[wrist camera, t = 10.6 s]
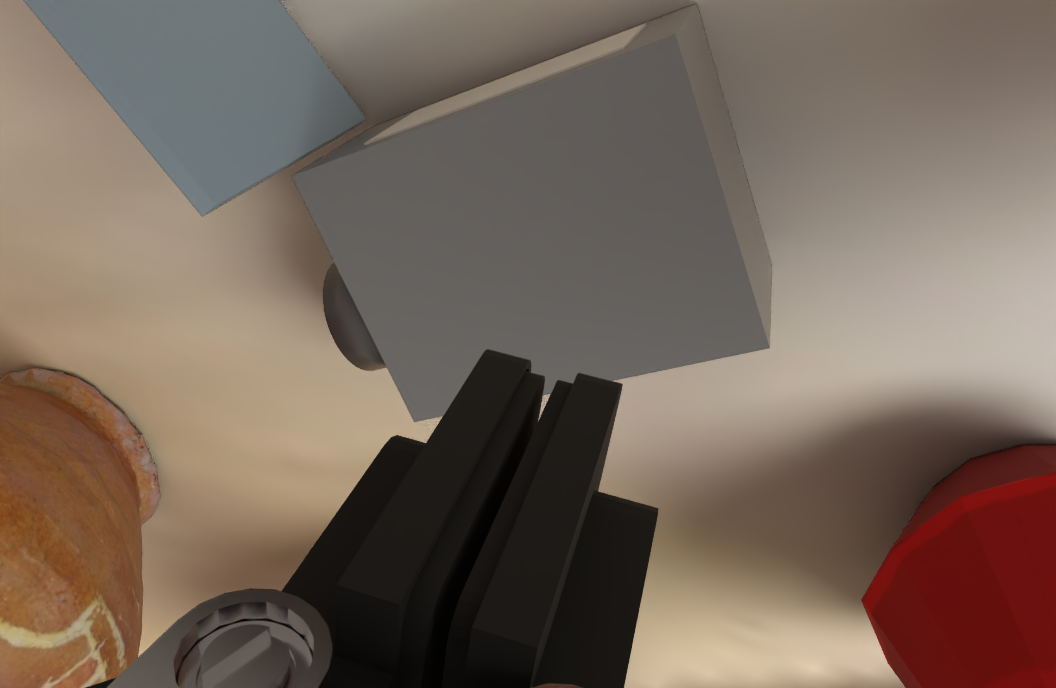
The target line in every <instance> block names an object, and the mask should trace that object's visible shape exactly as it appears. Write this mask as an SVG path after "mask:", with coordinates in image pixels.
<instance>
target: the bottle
mask: <svg viewBox="0 0 1056 688" xmlns="http://www.w3.org/2000/svg"><path fill="white" fill-rule="evenodd" d="M861 601H862V603H863V605H864V608H865V610H866V612H867V615H868V617H869V620H870V622H871V624H872V627H873V629H874V631H875V634H876V636H877V638H878V641H879V643H880V646H881V648H882V650H883V653H884V655H885V657H886V660H887V662H888V664H889V665H890V667H891V668H892V669H893V671H894V672H895V674H896V675H897V676H898V678H899V679H900V680H901V682H902V683H903V685H904V686H905V687H906V688H1056V444H1021V445H1017V446H1014V447H1010V448H1006V449H1003V450H999V451H996V452H992V453H988V454H985V455H981V456H978V457H974V458H970V459H969V460H968V461H966V462H965V463H964V464H962V465H961V466H960V467H959V468H957V469H956V470H955V471H953V472H952V473H951V474H949V475H948V476H947V477H945V478H944V479H943V480H941V481H940V482H939V483H937V484H936V485H935V486H934V487H933V488H932V490H931V491H930V493H929V494H928V495H927V497H926V498H925V500H924V501H923V503H922V504H921V506H920V507H919V509H918V510H917V511H916V513H915V514H914V516H913V517H912V519H911V520H910V522H909V523H908V525H907V526H906V527H905V529H904V530H903V532H902V533H901V535H900V536H899V538H898V539H897V541H896V542H895V543H894V545H893V546H892V548H891V550H890V552H889V553H888V555H887V557H886V558H885V560H884V562H883V564H882V565H881V567H880V569H879V571H878V572H877V574H876V576H875V577H874V579H873V581H872V583H871V584H870V586H869V588H868V590H867V591H866V593H865V595H864V596H863V598H862V600H861Z"/></svg>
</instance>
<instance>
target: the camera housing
mask: <svg viewBox="0 0 1056 688" xmlns="http://www.w3.org/2000/svg"><path fill="white" fill-rule="evenodd" d="M291 177H292V179H293V181H294V183H295V185H296V187H297V189H298V191H299V193H300V195H301V197H302V199H303V201H304V203H305V205H306V207H307V209H308V211H309V213H310V215H311V217H312V219H313V221H314V223H315V225H316V227H317V229H318V231H319V233H320V235H321V237H322V239H323V241H324V243H325V245H326V247H327V249H328V251H329V253H330V255H331V257H332V259H333V261H334V263H333V264H332V265H331V267H330V268H329V270H328V272H327V274H326V278H325V281H324V287H323V304H324V312H325V317H326V321H327V324H328V327H329V330H330V332H331V335H332V337H333V339H334V341H335V343H336V345H337V346H338V348H339V349H340V351H341V352H342V354H343V355H344V356H345V357H346V358H347V359H348V360H349V361H350V362H351V363H352V364H353V365H355V366H356V367H358V368H360V369H363V370H366V371H374V370H378V369H382V368H388V370H389V372H390V374H391V376H392V378H393V380H394V382H395V384H396V386H397V388H398V390H399V392H400V394H401V396H402V398H403V400H404V402H405V404H406V406H407V408H408V410H409V412H410V414H411V416H412V418H413V420H414V422H417V421H421V420H426V419H431V418H436V417H441V416H444V414H445V413H446V411H447V409H448V408H449V406H450V405H451V403H452V401H453V400H454V398H455V397H456V395H457V394H458V392H459V390H460V389H461V387H462V386H463V384H464V382H465V381H466V379H467V378H468V376H469V375H470V373H471V371H472V370H473V368H474V367H475V365H476V363H477V362H478V360H479V359H480V357H481V356H482V354H483V353H484V351H485V350H487V349H490V350H494V351H497V352H501V353H505V354H509V355H513V356H517V357H521V358H524V359H528V360H531V373H535V374H539V375H542V376H545V384H544V391H543V395H546V394H551V393H552V391H553V388H554V386H555V384H556V382H557V380H562V381H565V382H569V383H574V380H575V378H576V376H577V374H578V373H582V374H586V375H590V376H594V377H598V378H602V379H606V380H609V381H614V380H618V379H623V378H628V377H633V376H638V375H642V374H647V373H652V372H657V371H662V370H666V369H671V368H676V367H681V366H686V365H691V364H695V363H700V362H705V361H710V360H715V359H719V358H724V357H729V356H734V355H739V354H743V353H748V352H753V351H758V350H763V349H767V348H770V323H771V287H772V264H771V260H770V257H769V253H768V250H767V246H766V243H765V239H764V236H763V232H762V229H761V225H760V222H759V218H758V215H757V211H756V208H755V204H754V201H753V197H752V194H751V190H750V187H749V183H748V180H747V176H746V173H745V169H744V166H743V162H742V159H741V155H740V152H739V148H738V145H737V141H736V138H735V135H734V131H733V128H732V124H731V121H730V117H729V114H728V110H727V107H726V103H725V100H724V96H723V93H722V89H721V86H720V82H719V79H718V75H717V72H716V68H715V65H714V61H713V58H712V54H711V51H710V47H709V44H708V40H707V37H706V33H705V30H704V26H703V23H702V19H701V16H700V12H699V9H698V5H697V3H696V4H693V5H691V6H688V7H685V8H683V9H680V10H678V11H675V12H672V13H670V14H667V15H664V16H662V17H659V18H657V19H654V20H651V21H649V22H646V23H643V24H641V25H638V26H636V27H633V28H630V29H628V30H625V31H622V32H620V33H617V34H615V35H612V36H609V37H607V38H604V39H601V40H599V41H596V42H594V43H591V44H588V45H586V46H583V47H580V48H578V49H575V50H572V51H570V52H567V53H565V54H562V55H559V56H557V57H554V58H551V59H549V60H546V61H544V62H541V63H538V64H536V65H533V66H530V67H528V68H525V69H523V70H520V71H517V72H515V73H512V74H509V75H507V76H504V77H502V78H499V79H496V80H494V81H491V82H488V83H486V84H483V85H480V86H478V87H475V88H473V89H470V90H467V91H465V92H462V93H459V94H457V95H454V96H452V97H449V98H446V99H444V100H441V101H438V102H436V103H433V104H431V105H428V106H425V107H423V108H420V109H417V110H415V111H412V112H410V113H407V114H404V115H402V116H399V117H396V118H394V119H391V120H388V121H386V122H383V123H381V124H378V125H375V126H373V127H371V128H370V129H368V130H366V131H365V132H363V133H361V134H360V135H358V136H356V137H355V138H353V139H351V140H350V141H348V142H347V143H345V144H343V145H342V146H340V147H338V148H337V149H335V150H333V151H332V152H330V153H328V154H327V155H325V156H323V157H322V158H320V159H318V160H317V161H315V162H313V163H312V164H310V165H309V166H307V167H305V168H304V169H302V170H300V171H299V172H297V173H295V174H294V175H292V176H291Z"/></svg>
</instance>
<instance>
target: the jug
mask: <svg viewBox="0 0 1056 688" xmlns="http://www.w3.org/2000/svg"><path fill="white" fill-rule="evenodd" d="M134 427H135V428H136V426H134ZM134 427H133V426H132V425H131V424H130V422H129V420H128V418H127V417H126V416H125V415H124V414H123V413H122V412H121V411H120V410H119V409H117V408H116V407H115V406H114V405H113V404H111V403H110V402H109V401H108V400H107V399H105V398H104V397H103V396H102V395H101V394H100V393H99V392H98V391H97V390H96V388H94V387H92V386H90V385H89V384H87V383H85V382H83V381H82V380H80V379H78V378H77V377H73V376H69V375H65V374H64V372H62V371H55V372H53V371H49V370H45V369H41V368H31V369H29V370H25V371H19V372H10V373H8V374H6V375H5V376H4V377H2V378H1V379H0V688H85V687H88V686H92V685H95V684H98V683H101V682H104V681H107V680H110V679H113V678H116V677H118V676H119V675H120V674H121V673H122V672H123V671H124V670H126V669H127V668H128V667H129V666H130V665H131V664H132V663H133V662H134V661H135V660H136V659H137V658H138V652H139V646H140V639H141V633H142V606H143V583H142V536H141V525H142V524H143V523H145V522H146V521H147V520H148V519H149V518H150V517H152V515H153V513H154V512H155V510H156V508H157V506H158V503H159V500H160V497H161V494H160V490H159V485H158V474H157V468H156V466H155V464H154V462H153V460H152V458H151V455H150V453H149V451H148V449H147V448H146V444H145V441H144V438H143V436H141V435H140V434H139V433H138V431H137V430H136V429H135V428H134Z"/></svg>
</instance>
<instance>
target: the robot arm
mask: <svg viewBox="0 0 1056 688" xmlns="http://www.w3.org/2000/svg"><path fill="white" fill-rule="evenodd" d="M544 384H545V376H542V375H539V374H535V373H531V360H528V359H524V358H521V357H517V356H513V355H509V354H505V353H501V352H497V351H494V350H490V349H487V350H485V351H484V353H483V354H482V356H481V357H480V359H479V360H478V362H477V363H476V365H475V367H474V368H473V370H472V371H471V373H470V375H469V376H468V378H467V379H466V381H465V382H464V384H463V386H462V387H461V389H460V390H459V392H458V394H457V395H456V397H455V398H454V400H453V401H452V403H451V405H450V406H449V408H448V409H447V411H446V413H445V414H444V416H443V417H442V419H441V420H440V422H439V424H438V425H437V427H436V428H435V430H434V432H433V433H432V435H431V436H430V438H429V439H428V441H427V443H423V442H420V441H416V440H413V439H409V438H406V437H402V436H398V435H396V436H393V437H391V438H390V439H389V441H388V442H387V443H386V444H385V445H384V446H383V448H382V449H381V451H380V452H379V454H378V455H377V456H376V458H375V459H374V461H373V462H372V464H371V465H370V466H369V468H368V469H367V471H366V472H365V473H364V475H363V476H362V478H361V479H360V481H359V482H358V483H357V485H356V486H355V488H354V489H353V491H352V492H351V493H350V495H349V496H348V498H347V499H346V501H345V502H344V503H343V505H342V506H341V508H340V509H339V510H338V512H337V513H336V515H335V516H334V518H333V519H332V520H331V522H330V523H329V525H328V526H327V528H326V529H325V530H324V532H323V533H322V535H321V536H320V537H319V539H318V540H317V542H316V543H315V545H314V546H313V547H312V549H311V550H310V552H309V553H308V555H307V556H306V557H305V559H304V560H303V562H302V563H301V565H300V566H299V567H298V569H297V570H296V572H295V573H294V574H293V576H292V577H291V579H290V580H289V582H288V583H287V584H286V586H285V587H284V589H283V590H282V591H279V590H273V589H252V588H250V589H245V590H239V591H234V592H229V593H224V594H222V595H219V596H217V597H215V598H212V599H210V600H208V601H205V602H203V603H200V604H199V605H198V606H196V607H195V608H193V609H192V610H191V611H189V612H188V613H187V614H185V615H184V616H183V617H181V618H180V619H178V620H177V621H176V622H175V623H174V624H173V625H172V626H171V627H170V628H169V629H168V630H167V631H166V632H165V633H164V634H163V635H162V636H160V637H159V638H158V639H157V640H156V641H155V642H154V643H153V644H152V645H151V646H150V647H149V648H148V649H147V650H146V651H145V652H144V653H142V654H141V655H140V656H139V657H138V658H137V659H136V660H135V661H134V662H133V663H132V664H131V665H130V666H129V667H128V668H127V669H126V670H124V671H123V672H122V673H121V674H120V675H119V676H118V677H116V678H113V679H110V680H107V681H104V682H101V683H98V684H95V685H92V686H88V687H85V688H624V684H625V679H626V674H627V669H628V664H629V659H630V654H631V649H632V643H633V638H634V633H635V628H636V623H637V618H638V613H639V608H640V603H641V598H642V593H643V587H644V582H645V577H646V572H647V567H648V562H649V557H650V552H651V547H652V542H653V537H654V531H655V526H656V521H657V516H658V508H655V507H651V506H648V505H644V504H641V503H637V502H633V501H630V500H626V499H623V498H619V497H616V496H612V495H608V494H605V493H601V492H598V489H599V485H600V481H601V476H602V472H603V468H604V464H605V459H606V455H607V451H608V446H609V442H610V438H611V434H612V429H613V425H614V421H615V416H616V412H617V408H618V404H619V399H620V395H621V390H622V384H621V383H617V382H613V381H609V380H606V379H602V378H598V377H594V376H590V375H586V374H582V373H578V374H577V376H576V378H575V380H574V383H569V382H565V381H562V380H557V382H556V384H555V386H554V388H553V391H552V393H551V395H550V397H549V399H548V402H547V404H546V406H545V408H544V411H543V413H542V415H541V417H540V419H539V414H540V408H541V402H542V396H543V391H544ZM538 419H539V422H538Z"/></svg>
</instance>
